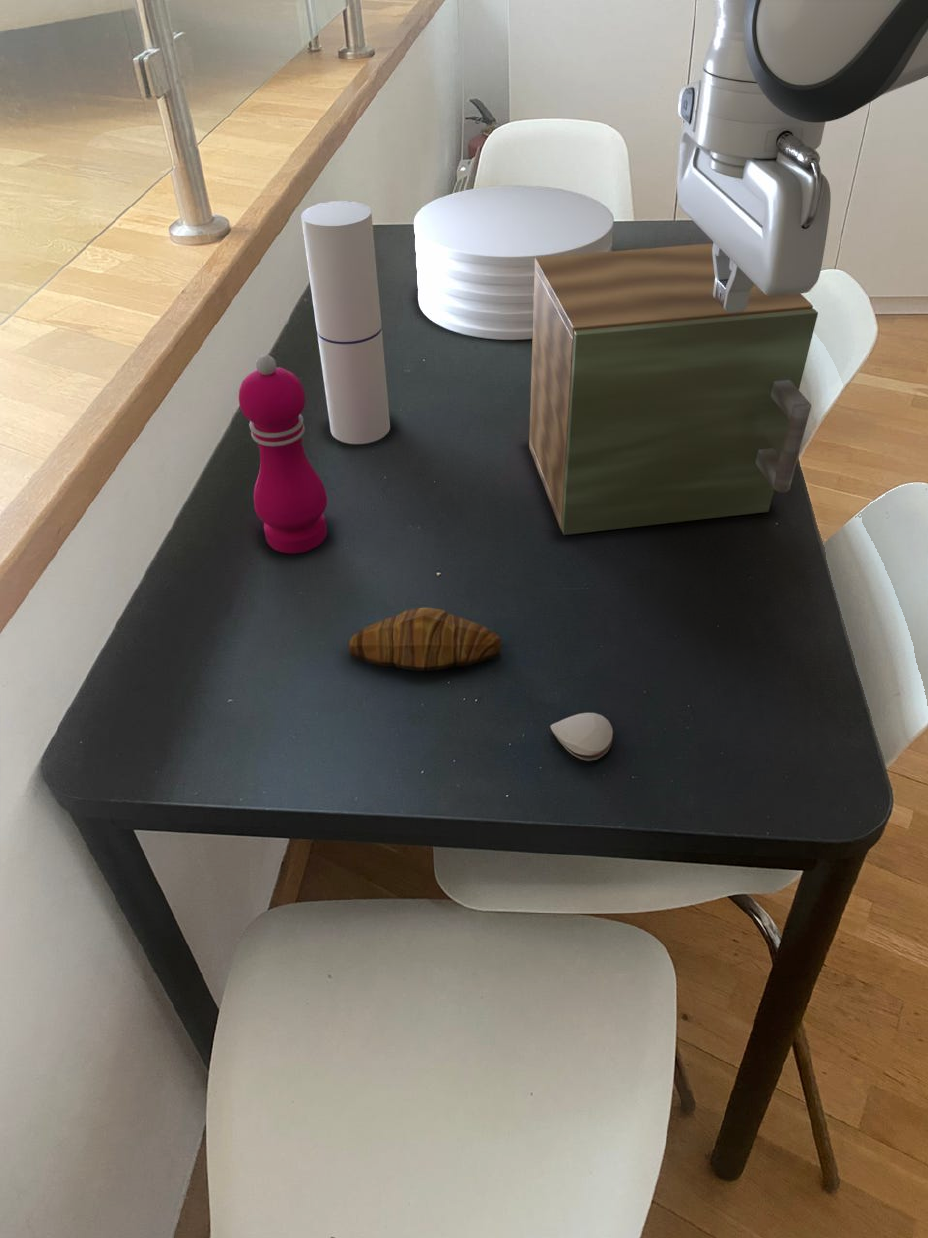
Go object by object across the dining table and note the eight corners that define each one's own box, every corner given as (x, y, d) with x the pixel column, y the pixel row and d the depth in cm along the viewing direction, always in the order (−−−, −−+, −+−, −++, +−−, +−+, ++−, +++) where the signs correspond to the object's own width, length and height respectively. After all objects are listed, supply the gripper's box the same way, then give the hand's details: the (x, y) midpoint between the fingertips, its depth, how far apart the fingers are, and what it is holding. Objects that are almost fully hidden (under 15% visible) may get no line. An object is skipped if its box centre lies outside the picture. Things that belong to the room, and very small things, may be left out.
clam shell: (603, 772, 72) (606, 752, 70) (542, 756, 73) (543, 735, 71) (616, 732, 75) (619, 712, 73) (557, 717, 76) (558, 696, 74)
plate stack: (488, 247, 151) (488, 173, 144) (640, 285, 139) (649, 206, 131) (380, 309, 135) (373, 229, 127) (541, 358, 123) (544, 273, 115)
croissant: (345, 685, 79) (339, 643, 76) (354, 631, 84) (348, 590, 81) (502, 684, 79) (503, 643, 76) (501, 630, 84) (501, 589, 81)
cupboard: (764, 507, 97) (813, 305, 82) (560, 529, 95) (573, 327, 80) (711, 428, 109) (746, 239, 94) (529, 447, 106) (534, 257, 92)
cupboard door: (789, 542, 92) (845, 339, 78) (575, 567, 90) (592, 363, 75) (765, 507, 97) (814, 308, 82) (561, 530, 95) (573, 330, 80)
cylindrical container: (323, 441, 108) (292, 224, 91) (339, 410, 114) (312, 199, 97) (382, 446, 107) (361, 227, 90) (395, 414, 113) (378, 202, 96)
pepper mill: (343, 521, 97) (319, 343, 83) (313, 563, 92) (281, 380, 78) (281, 509, 99) (248, 333, 85) (248, 549, 94) (207, 368, 80)
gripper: (873, 154, 57) (822, 359, 67) (749, 79, 73) (721, 255, 82) (777, 162, 57) (739, 368, 66) (672, 84, 72) (653, 261, 81)
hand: (728, 305), depth 74 cm, fingers closed
